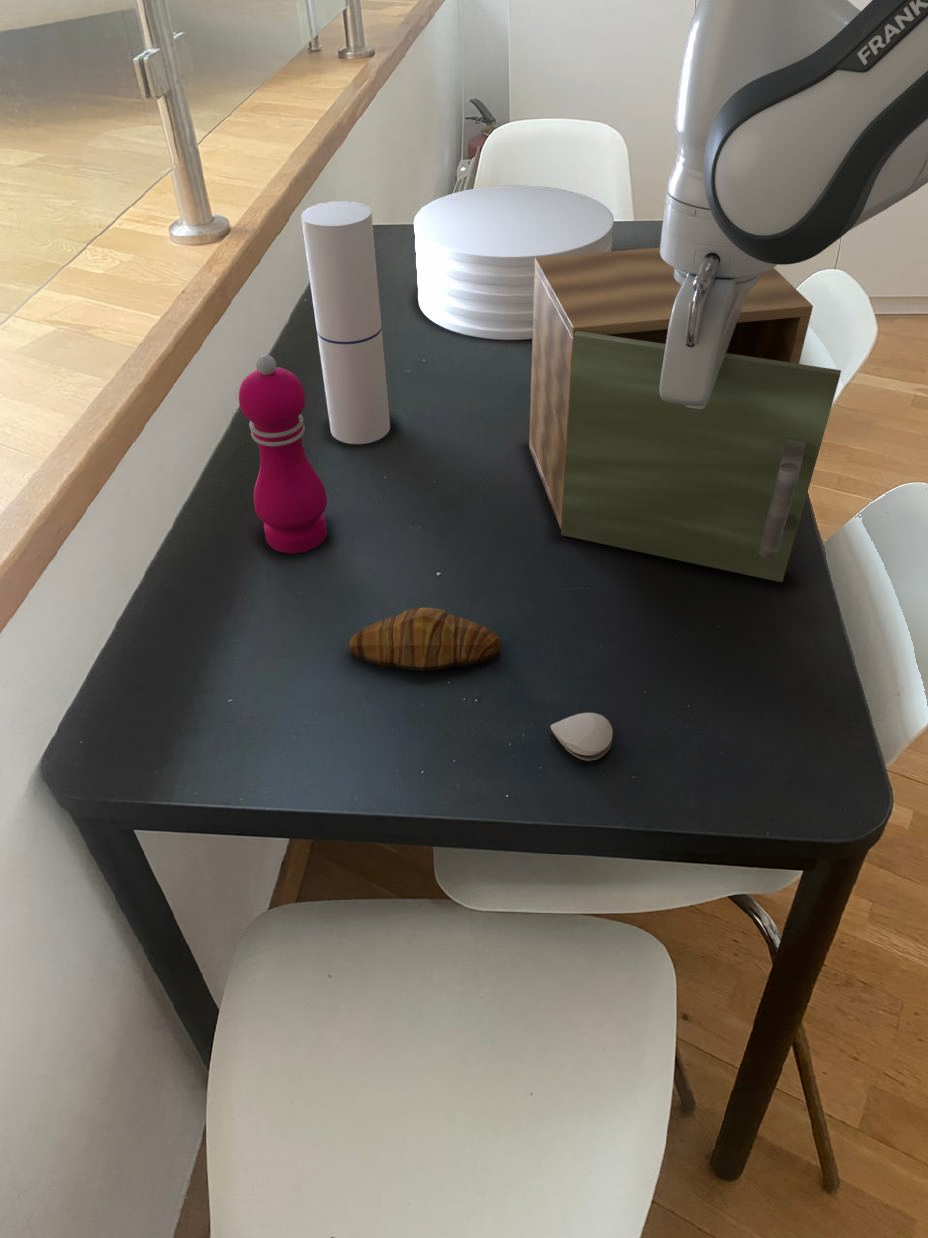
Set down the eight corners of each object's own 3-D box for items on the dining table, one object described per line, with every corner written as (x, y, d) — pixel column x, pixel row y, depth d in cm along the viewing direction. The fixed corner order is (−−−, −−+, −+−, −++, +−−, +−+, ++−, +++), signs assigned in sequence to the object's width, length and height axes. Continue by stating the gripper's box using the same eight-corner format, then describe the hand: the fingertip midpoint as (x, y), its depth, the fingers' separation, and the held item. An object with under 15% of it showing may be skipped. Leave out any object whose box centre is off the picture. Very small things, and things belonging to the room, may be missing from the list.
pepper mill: (343, 521, 97) (319, 343, 83) (313, 563, 92) (281, 380, 78) (281, 509, 99) (248, 333, 85) (248, 549, 94) (207, 368, 80)
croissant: (345, 685, 79) (339, 643, 76) (354, 631, 84) (348, 590, 81) (502, 684, 79) (503, 642, 76) (501, 630, 84) (501, 588, 81)
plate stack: (488, 247, 151) (488, 173, 144) (640, 285, 139) (649, 206, 131) (380, 309, 135) (373, 229, 127) (541, 358, 123) (544, 273, 115)
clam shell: (603, 772, 72) (606, 752, 70) (542, 755, 73) (543, 735, 71) (616, 732, 75) (619, 712, 73) (557, 717, 76) (558, 696, 74)
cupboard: (764, 507, 97) (813, 305, 82) (560, 529, 95) (573, 327, 80) (711, 428, 109) (746, 239, 94) (529, 447, 106) (534, 257, 92)
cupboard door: (774, 618, 84) (834, 406, 69) (545, 566, 90) (555, 362, 76) (783, 577, 88) (841, 369, 74) (563, 530, 95) (576, 330, 80)
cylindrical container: (323, 441, 108) (292, 224, 91) (339, 410, 114) (312, 199, 97) (382, 446, 107) (361, 227, 90) (395, 414, 113) (378, 202, 96)
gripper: (746, 292, 60) (713, 473, 69) (782, 193, 74) (751, 354, 83) (649, 281, 61) (630, 459, 71) (703, 186, 75) (681, 345, 85)
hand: (696, 401), depth 77 cm, fingers closed
